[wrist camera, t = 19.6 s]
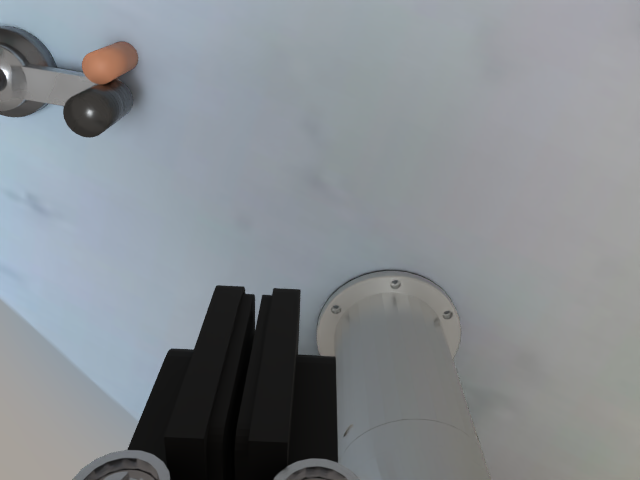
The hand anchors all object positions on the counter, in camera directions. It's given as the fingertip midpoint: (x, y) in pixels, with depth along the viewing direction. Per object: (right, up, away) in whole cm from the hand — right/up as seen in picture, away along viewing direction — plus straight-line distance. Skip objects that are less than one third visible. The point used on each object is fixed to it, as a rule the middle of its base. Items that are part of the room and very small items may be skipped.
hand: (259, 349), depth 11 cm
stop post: (-13, +15, +28) cm, 35 cm away
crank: (-17, +13, +28) cm, 35 cm away
